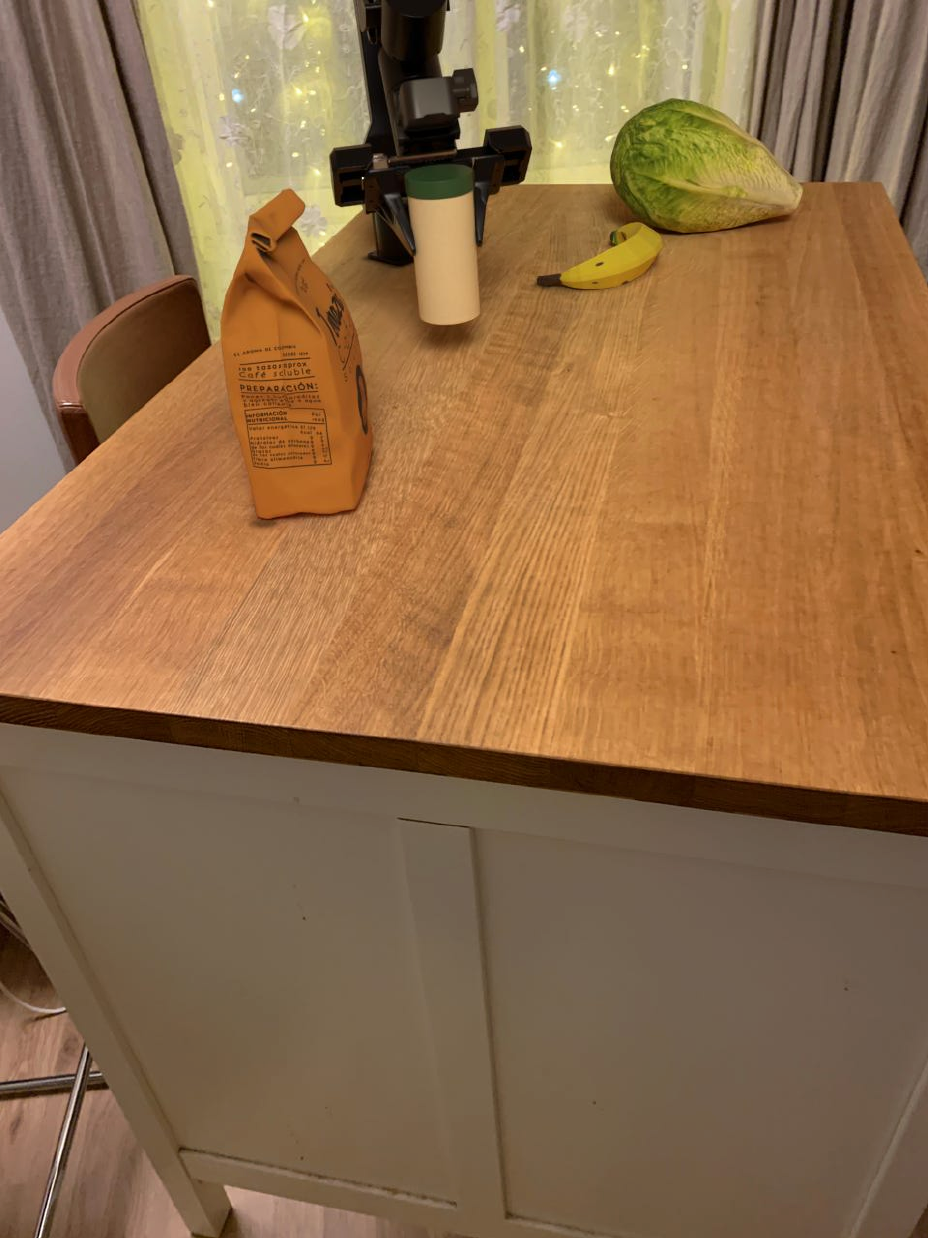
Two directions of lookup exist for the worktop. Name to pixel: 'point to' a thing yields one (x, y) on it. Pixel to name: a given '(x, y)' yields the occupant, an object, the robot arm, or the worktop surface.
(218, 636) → the worktop surface
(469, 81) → the robot arm
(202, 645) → the worktop surface
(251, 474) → the coffee package
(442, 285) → the cheese shaker
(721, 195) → the lettuce
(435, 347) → the worktop surface
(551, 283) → the banana
